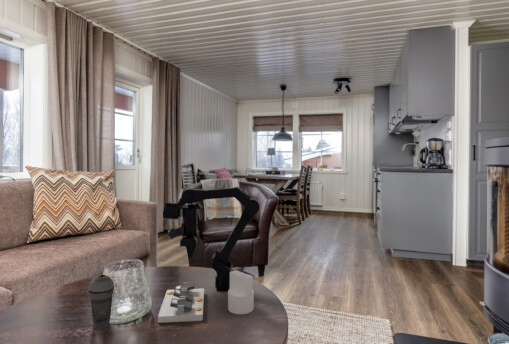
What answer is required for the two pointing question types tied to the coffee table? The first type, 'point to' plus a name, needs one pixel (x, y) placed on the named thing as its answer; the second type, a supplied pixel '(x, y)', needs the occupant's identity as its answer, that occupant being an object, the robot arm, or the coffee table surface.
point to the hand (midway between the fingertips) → (189, 258)
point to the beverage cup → (101, 299)
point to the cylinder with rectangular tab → (240, 293)
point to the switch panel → (182, 307)
